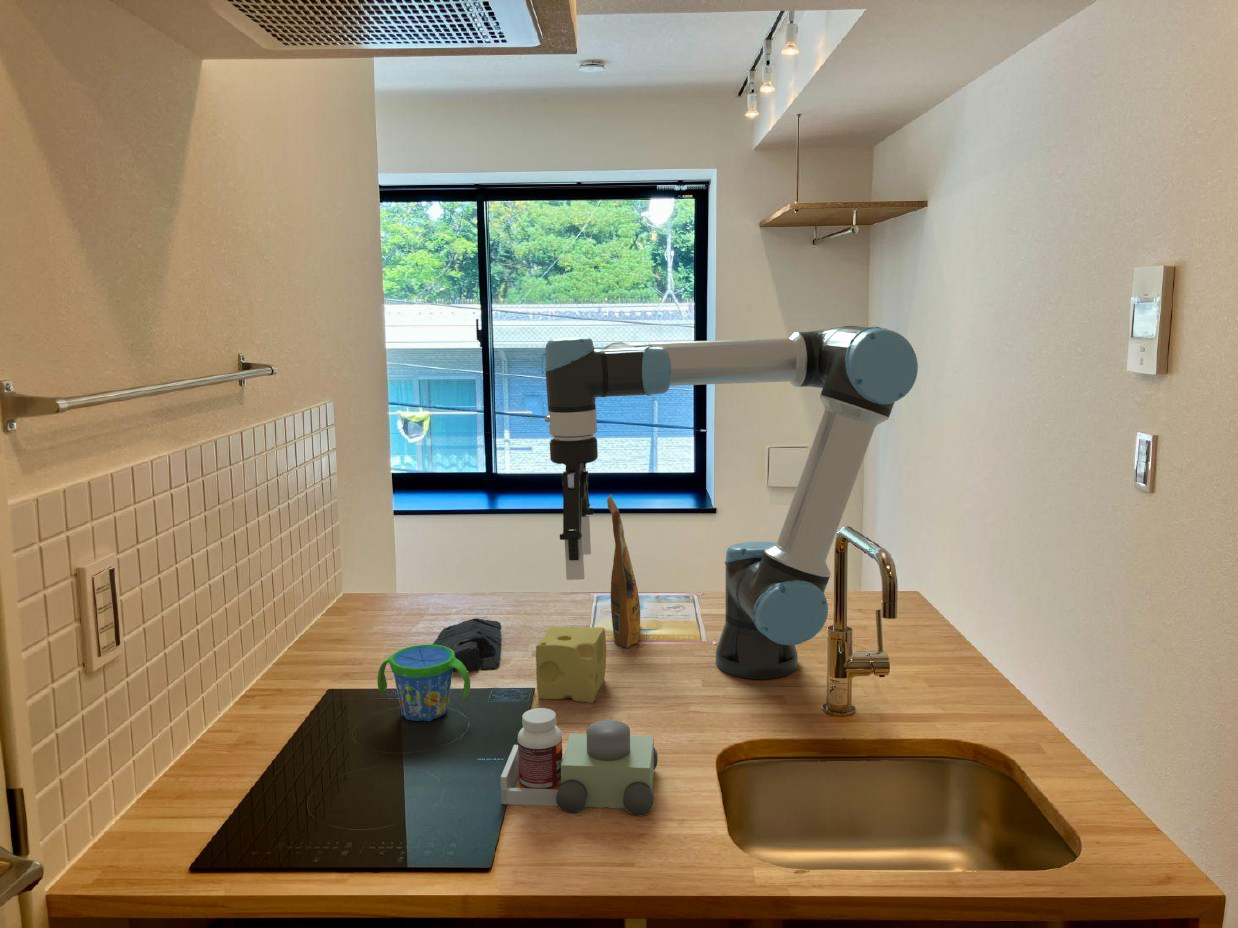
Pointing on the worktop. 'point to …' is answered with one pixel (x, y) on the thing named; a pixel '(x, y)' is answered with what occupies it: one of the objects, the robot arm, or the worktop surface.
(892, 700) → the worktop surface
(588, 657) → the cheese
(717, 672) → the worktop surface
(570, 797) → the toy lawn mower
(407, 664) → the snack cup
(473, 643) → the dark slate chunk
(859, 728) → the worktop surface
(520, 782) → the pill bottle
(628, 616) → the pancake mix bag
